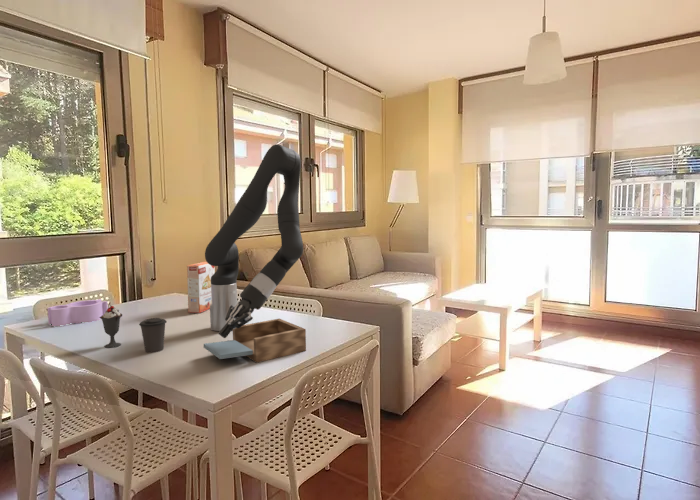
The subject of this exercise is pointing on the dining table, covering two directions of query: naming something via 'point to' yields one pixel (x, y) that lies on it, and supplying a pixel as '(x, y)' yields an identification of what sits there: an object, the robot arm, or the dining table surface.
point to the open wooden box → (271, 339)
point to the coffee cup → (153, 334)
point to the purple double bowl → (77, 312)
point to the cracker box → (199, 286)
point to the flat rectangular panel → (228, 349)
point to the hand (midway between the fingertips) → (221, 336)
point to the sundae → (111, 325)
